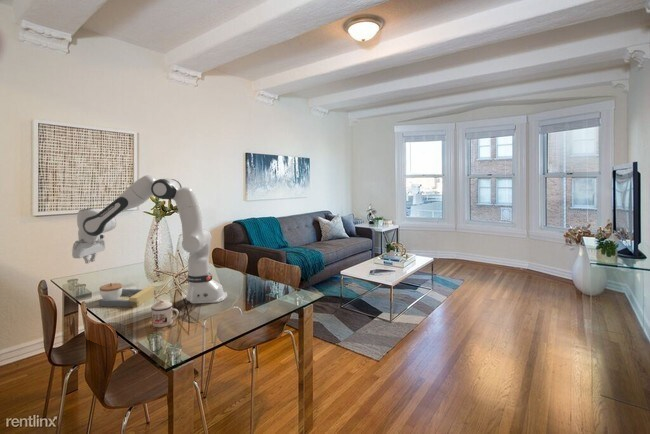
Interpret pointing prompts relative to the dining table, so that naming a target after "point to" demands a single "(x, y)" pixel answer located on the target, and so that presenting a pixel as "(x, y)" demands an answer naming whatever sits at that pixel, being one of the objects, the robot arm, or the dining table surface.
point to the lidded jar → (111, 291)
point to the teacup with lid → (163, 313)
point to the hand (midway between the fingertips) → (90, 262)
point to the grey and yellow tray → (134, 300)
